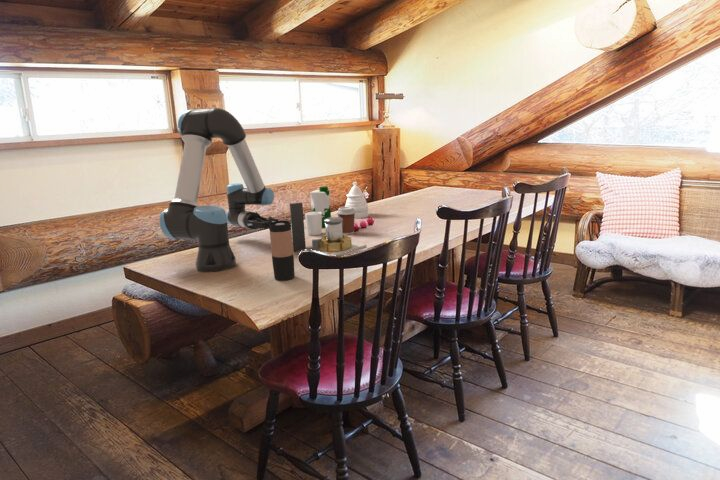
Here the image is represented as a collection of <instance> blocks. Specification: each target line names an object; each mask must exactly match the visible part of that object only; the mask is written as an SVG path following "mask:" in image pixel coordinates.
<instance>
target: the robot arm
mask: <svg viewBox="0 0 720 480" xmlns="http://www.w3.org/2000/svg"><path fill="white" fill-rule="evenodd" d="M177 128H178V133H179V135H180V136H181V140H182V141H183V142H184V145H183V150H182V156H181V162H180V165H179V166H180V167H179V173H178V176H177V177H178V178H177V182H176V188H175V193H174V198H173V199H172V200H170V202H169V203H168V208H166V209H164V210H162V212H161V213H160V215H159V219H158V220H159V227H160V228H159V229H161V232H162V233H163V235H164V236H166V237H167V238H168V239H174V240H195V241H196V240H197V244H198V251H197V255H196V260H195V268H196V270H197V271H200V272H219V271H223V270H224V271H225V270H228V269H231V268H234V267H235V266H236V265H237V260H236V256H235V254H234V252H233V250H232V247H231V246H230V238H229V228H228V224H230V225H232V226H235V227H242V228H245V229H247V230H248V229H251V230H256V229H265V230H266V229H268V230H269V231H270V229H269V223H271V222H275V221H279V220H278V219H276V218H274V217H272V216H269V217H264V216H261V215H260V214H259V212H255V211H249V210H246V206H270V205H272V203H273V202H274V200H275V193H274V190H273V189H272V188H268V187H266V186H265V183H264V180H263V179H262V176H261V173H260V171H259V169H258V167H257V165H256V164H257V163H256V162H255V160H254V157H253V155H252V153H251V150H250V148H249V145H248V143H247V141H246V137H247V135H246V132H245V130H244V127H243V125H242V124H241V123H240V122H239V120H238V119H237V118H236V117H235V116H234V115H233V114H232V113H231V112H229V111H227V110H225V109H223V108H220V107H214V108H213V107H212V108H211V107H210V108H192V109H187V110H185V111H183V112H182V113H181V114H180V115H179V117H178V121H177ZM216 138H217V139H220V140H222V142H223V144H224V145H225V146H227V148H228V149H229V151H230V153H231V156H232V158H233V160H234V162H235V165H236V167H237V168H238V171H239V173H240V175H241V178H242V180H243V182H244V184H245V186H246V187H244V184H243V183H241V182H240V183H239V182H238V183H237V182H236V183H230V184H227V186H226V197H227V205H228V210H227V211H226V210H225V209H224V208H223V207H220V206H217V205H198V200H199V199H198V198H199V193H200V187H201V181H202V176H203V170H204V164H205V159H206V154H207V153H206V152H207V148H209V147H210V146H211V145H212V143H213V142H212V140H213V139H216Z"/></svg>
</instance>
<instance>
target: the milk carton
mask: <svg viewBox="0 0 720 480" xmlns="http://www.w3.org/2000/svg"><path fill="white" fill-rule="evenodd" d="M328 188H329V187H328V186H319V189H316V190H313V191H310V192H309V195H310V204H311V205H310V206H311V212H321V213H322V229H325V222H324V219H326V218H330V217H332V212H331V190H330V189H328Z"/></svg>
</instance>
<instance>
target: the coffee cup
mask: <svg viewBox="0 0 720 480" xmlns="http://www.w3.org/2000/svg"><path fill="white" fill-rule="evenodd" d="M335 213H336V215H337V217H340V218H342V220H343V221H342V233H343V234H347V235H352V234H354V233H355V218H354V216H355V213H356V211H355V210H354V209H353V207H345V206H341V207H339V208H338V210H337V211H336V212H335Z"/></svg>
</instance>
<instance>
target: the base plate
mask: <svg viewBox="0 0 720 480" xmlns="http://www.w3.org/2000/svg"><path fill="white" fill-rule="evenodd" d="M351 243H352V247H351V248H349V249H346V250H343V251H342V250H340V251H323V250H319V249H318V250H316V251H320V252H323V253H326V254H330V255H338V256H341V255H343V254H342V253H344V254H346V253H345V252H348V251H351V250H354V251H356V250H355V249H357V250H359V249H358V248H360V249H363V248H366V247H367V244H364V243H358V242H355V241H354V242H353V241H351ZM362 247H363V248H362ZM351 252H352V251H351ZM348 253H349V252H348ZM340 254H341V255H340Z"/></svg>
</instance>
